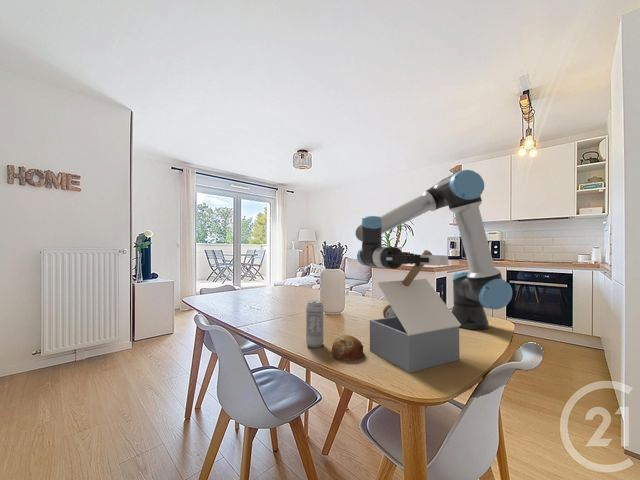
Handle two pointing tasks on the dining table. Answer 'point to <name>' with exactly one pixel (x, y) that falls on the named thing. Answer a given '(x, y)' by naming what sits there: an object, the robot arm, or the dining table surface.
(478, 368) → the dining table surface
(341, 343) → the bread roll
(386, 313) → the tin
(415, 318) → the flap
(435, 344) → the carton
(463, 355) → the dining table surface
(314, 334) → the energy drink can
